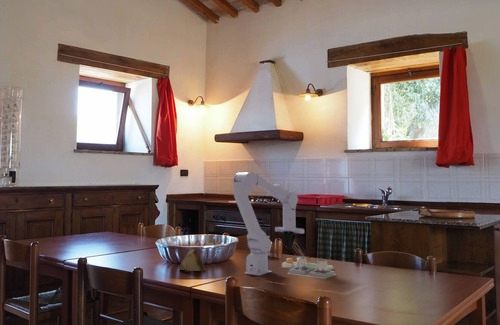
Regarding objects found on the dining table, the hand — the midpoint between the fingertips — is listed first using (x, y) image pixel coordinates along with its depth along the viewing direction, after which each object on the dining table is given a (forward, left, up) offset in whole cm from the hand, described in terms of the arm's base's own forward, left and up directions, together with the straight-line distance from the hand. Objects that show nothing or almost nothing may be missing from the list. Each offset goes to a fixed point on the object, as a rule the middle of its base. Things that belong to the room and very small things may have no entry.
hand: (289, 248), depth 207 cm
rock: (-30, +32, -9) cm, 45 cm away
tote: (+2, -11, -9) cm, 14 cm away
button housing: (0, 0, -9) cm, 9 cm away
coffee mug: (+18, +31, -9) cm, 37 cm away
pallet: (-8, -16, -9) cm, 20 cm away
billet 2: (-8, -21, -8) cm, 24 cm away
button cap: (0, 0, -7) cm, 7 cm away
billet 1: (-8, -11, -8) cm, 15 cm away
